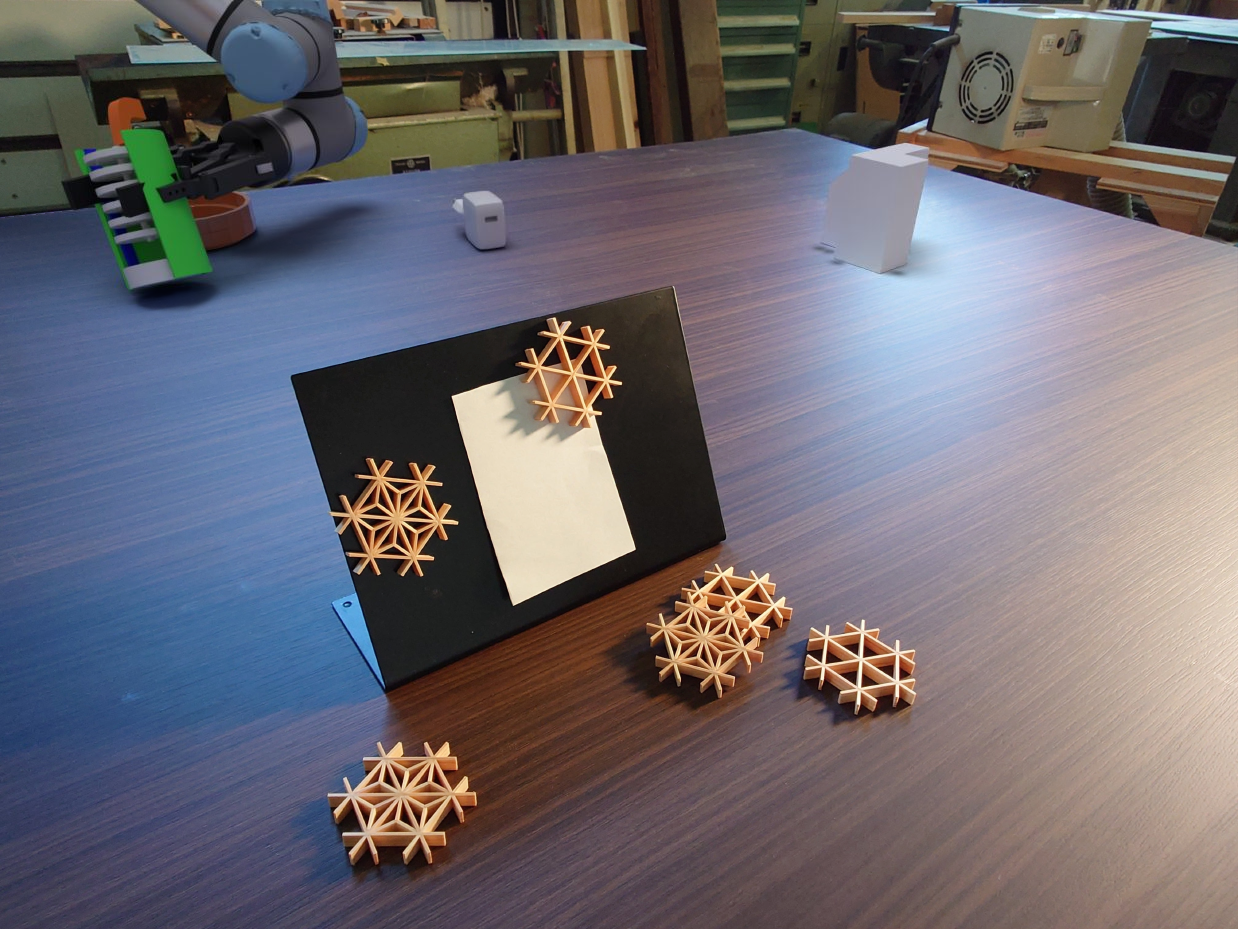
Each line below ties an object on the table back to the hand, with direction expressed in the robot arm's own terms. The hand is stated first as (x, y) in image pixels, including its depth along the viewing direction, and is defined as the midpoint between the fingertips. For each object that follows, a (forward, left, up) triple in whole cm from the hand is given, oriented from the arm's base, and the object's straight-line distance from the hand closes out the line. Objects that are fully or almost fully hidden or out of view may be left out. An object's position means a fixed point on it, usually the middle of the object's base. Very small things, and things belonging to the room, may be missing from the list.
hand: (95, 199), depth 78 cm
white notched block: (+68, +49, -11) cm, 85 cm away
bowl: (-10, +18, -10) cm, 23 cm away
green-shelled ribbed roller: (+3, +3, -9) cm, 10 cm away
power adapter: (+22, +33, -11) cm, 41 cm away
